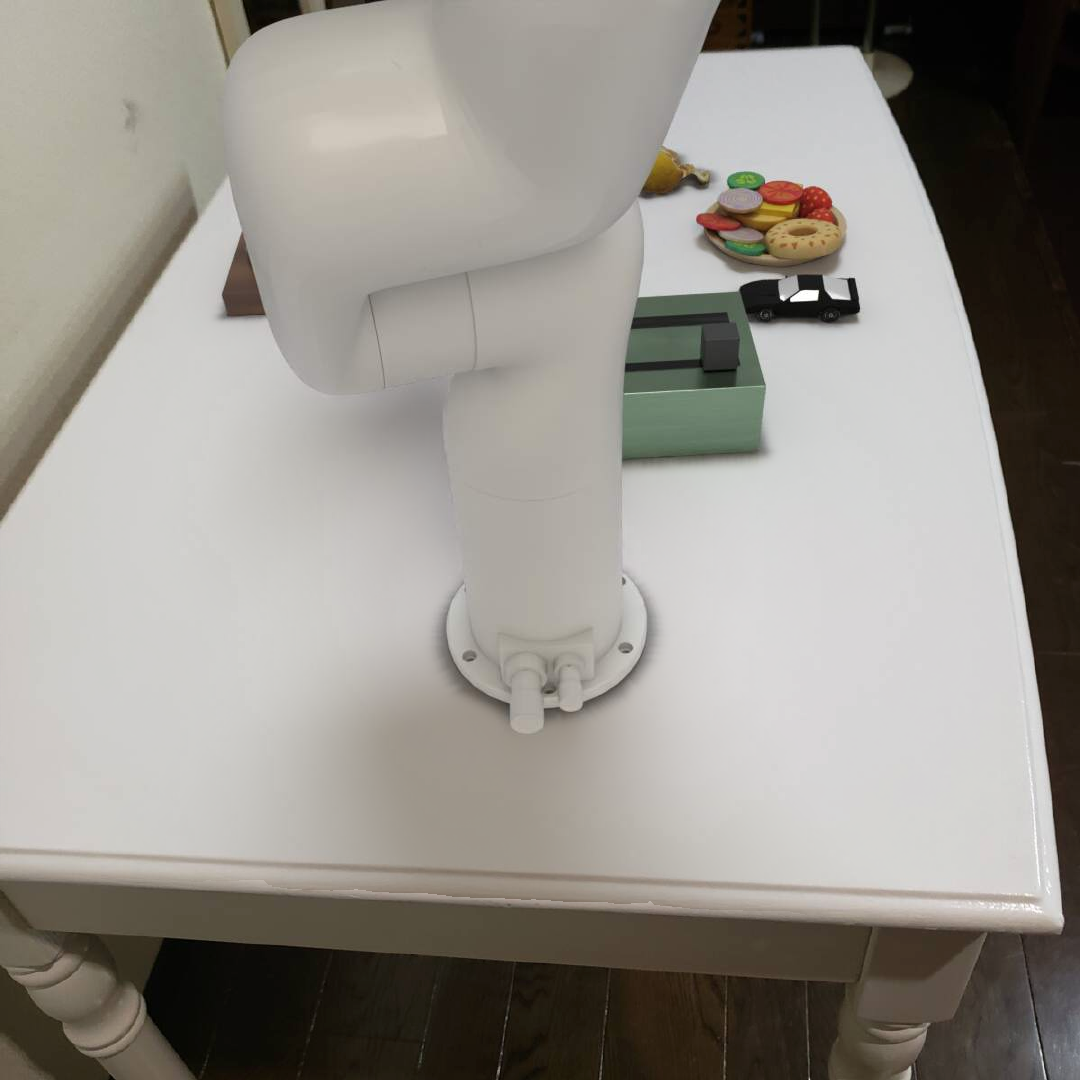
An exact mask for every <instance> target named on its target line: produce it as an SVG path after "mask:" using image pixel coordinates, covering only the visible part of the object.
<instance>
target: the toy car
mask: <svg viewBox="0 0 1080 1080" xmlns="http://www.w3.org/2000/svg"><path fill="white" fill-rule="evenodd" d="M738 291H740V294H741V297H742V301H743V304H744V308H745V312H746V315H757V318H758V320H759V321H760V322H762V323H768V322H770V321H772V320H773V319H774V318H821V317H822V320H823V321H824V322H826V323H834V322H836V321H837V320H839V318H840V316H841V317H843V316H851V315H857V314H859V313H860V312H861V305H860V304H861V303H860V296H859V291H858V286H857V281H856V278H855V277H847V278H846V277H844V278H843V277H832V276H829V275H825V274H819V273H818V274H816V273H815V274H814V273H813V274H812V273H811V274H808V273H806V274H803V273H801V274H795V275H791V276H788V275H785V277H783V278H768V279H767V278H766V279H758V280H757V279H756V280H752V281H749V282H747V283H744V284H742V285H740V286H739V290H738Z"/></svg>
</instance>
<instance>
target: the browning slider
mask: <svg viewBox="0 0 1080 1080" xmlns="http://www.w3.org/2000/svg"><path fill="white" fill-rule="evenodd" d="M739 345H740V336H739V333H738V329H737V325H736V322H731V323H714V324H702V330H701V347H700V356H701V361H702V365H703V370H704V371H705V370H722V369H737V367H738V356H739Z"/></svg>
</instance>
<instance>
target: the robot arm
mask: <svg viewBox="0 0 1080 1080" xmlns="http://www.w3.org/2000/svg"><path fill="white" fill-rule="evenodd" d="M721 1H722V0H364V3H362V4H355V5H349V6H343V7H337V8H330V9H325V10H320V11H315V12H309V13H304V14H300V15H297V16H292V17H288V18H285V19H281V20H279V21H276V22H273V23H271V24H269V25H267V26H264V27H262V28H260V29H258V30H257V31H255V32H253V34H252V35H251V36H249V37H248V38H246V40H244V41H243V43H242V44H241V45H240V46H239V47H238V48H237V50H236V52H235V53H234V54H233V56H232V58H231V60H230V62H229V65H228V68H227V71H226V72H225V76H224V79H223V84H222V93H221V102H220V103H221V104H220V121H221V123H220V124H221V135H222V136H221V138H222V146H223V147H222V148H223V153H224V159H225V165H226V169H227V175H228V180H229V184H230V189H231V195H232V199H233V204H234V207H235V210H236V214H237V218H238V222H239V225H240V229H241V233H242V232H243V236H244V239H245V243H246V246H247V250H248V254H249V257H250V261H251V264H252V268H253V271H254V275H255V278H256V282H257V285H258V289H259V293H260V297H261V300H262V304H263V307H264V311H265V314H264V315H265V316H266V319H267V323H268V325H269V328H270V331H271V334H272V336H273V338H274V339H273V340H274V342H275V343H276V345H277V348H278V349H279V351H280V354H281V355H282V357H283V358H284V360H285V362H286V364H287V365H288V366H289V367H290V369H291V371H292V372H293V373H294V374H295V376H297V377H298V379H300V381H301V382H303V383H304V384H305V385H307V386H308V387H309V388H311V389H313V390H314V391H316V392H319V393H321V394H325V395H328V396H329V395H330V396H338V397H340V396H341V397H347V396H355V395H356V396H357V395H361V394H367V393H373V392H377V391H382V390H388V389H393V388H396V387H398V388H399V387H402V386H407V385H412V384H416V383H420V382H424V381H429V380H434V379H438V378H443V377H447V376H452V378H451V381H450V384H449V386H448V390H447V392H446V393H447V394H446V397H445V400H444V405H443V411H442V421H441V422H442V423H441V426H442V429H441V430H442V440H443V447H444V453H445V454H444V455H445V458H446V465H447V473H448V479H449V485H450V493H451V500H452V507H453V513H454V519H455V527H456V533H457V540H458V547H459V554H460V559H461V560H460V561H461V567H462V574H463V583H462V584H461V586H460V587H459V588H458V589H457V591H456V593H455V595H454V597H453V598H452V600H451V602H450V605H449V609H448V613H447V615H446V626H445V627H446V629H445V630H446V631H445V633H446V638H447V645H448V649H449V652H450V655H451V657H452V661H453V663H454V664H455V666H456V667H457V669H458V671H459V672H460V674H461V675H462V677H464V678H465V679H466V680H467V681H468V682H469V683H470V684H472V686H473V687H475V688H476V689H478V690H479V691H481V692H483V693H484V694H486V695H487V696H488V697H491V698H493V699H497V700H499V701H501V702H503V703H506V704H509V724H510V728H511V729H512V730H513V731H514V732H516V733H519V734H522V735H531V734H535V733H538V732H540V731H541V730H542V729H543V728H544V726H545V709H554V708H560V710H562V711H564V712H568V713H569V712H570V713H571V712H573V713H574V712H577V711H579V710H580V709H582V708H583V706H584V703H585V702H587V701H589V700H592V699H594V698H596V697H598V696H601V695H603V694H605V693H606V692H608V691H609V690H611V689H612V688H614V687H615V686H617V685H618V684H619V683H620V682H622V681H623V679H625V677H627V676H628V674H630V673H631V672H632V670H633V668H634V667H635V666H636V664H637V663H638V661H639V660H640V658H641V655H642V653H643V651H644V649H645V645H646V641H647V632H648V612H647V609H646V604H645V600H644V598H643V596H642V594H641V592H640V591H639V588H638V587H637V585H636V583H635V582H633V580H632V579H631V578H630V577H629V576H628V574H626V573H625V572H624V571H623V459H622V440H623V385H624V372H625V359H626V352H627V345H628V340H629V334H630V329H631V324H632V320H633V315H634V311H635V307H636V302H637V298H638V297H639V293H640V288H641V282H642V275H643V268H644V256H645V231H644V229H645V228H644V222H643V216H642V215H643V214H642V210H641V206H640V202H639V199H638V197H639V195H640V194H641V191H643V189H642V188H643V186H644V184H645V182H646V180H647V178H648V176H649V174H650V172H651V170H652V168H653V166H654V164H655V162H656V159H657V157H658V155H659V153H660V150H661V148H662V146H664V143H665V140H666V138H667V136H668V133H669V131H670V128H671V125H672V123H673V121H674V119H675V116H676V113H677V110H678V109H679V106H680V102H681V100H682V98H683V95H684V94H685V91H686V88H687V87H688V86H687V85H688V83H689V81H690V79H691V76H692V74H693V71H694V69H695V66H696V64H697V62H698V58H699V57H700V54H701V51H702V49H703V46H704V44H705V40H706V38H707V35H708V31H709V29H710V26H711V24H712V20H713V18H714V16H715V14H716V12H717V10H718V7H719V5H720V4H721Z"/></svg>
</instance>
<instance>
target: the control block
mask: <svg viewBox="0 0 1080 1080" xmlns="http://www.w3.org/2000/svg"><path fill="white" fill-rule="evenodd" d="M223 286H224V287H223V289H222V292H221V297H222V300H223V304H224V307H225V312H226V315H227V317H231V316H233V317H234V316H247V315H266V314H265V311H264V307H263V304H262V300H261V297H260V293H259V289H258V285H257V282H256V278H255V275H254V271H253V268H252V264H251V261H250V257H249V254H248V250H247V246H246V243H245V239H244V236H243V232H242V231H241V233H240V236H239V238H238V242H237V246H236V248H235V251H234V254H233V258H232V262H231V264H230V267H229V270H228V273H227V277H226V280H225V283H224V285H223Z"/></svg>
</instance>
